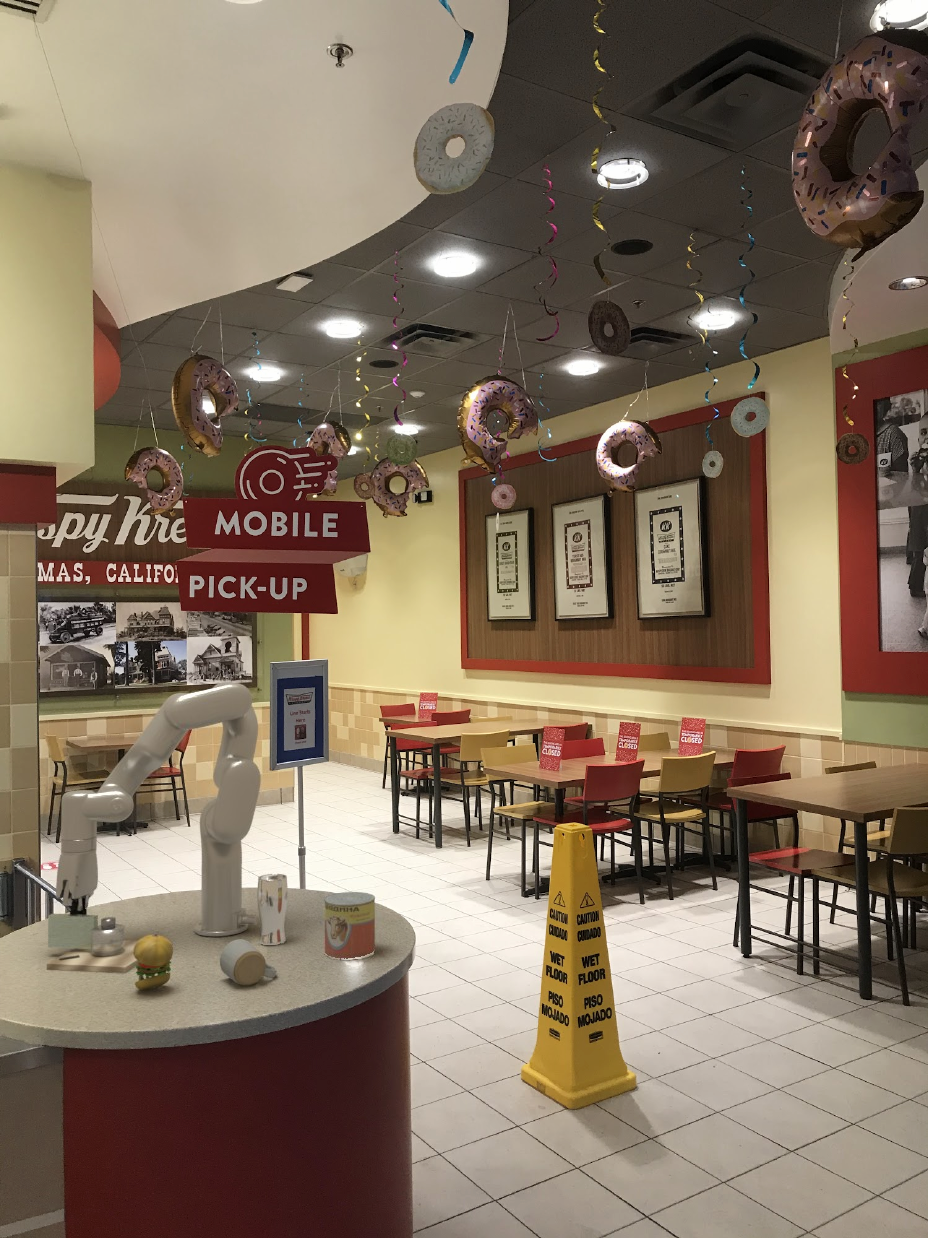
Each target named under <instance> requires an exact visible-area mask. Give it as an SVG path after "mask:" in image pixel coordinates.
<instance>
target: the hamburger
mask: <svg viewBox="0 0 928 1238" xmlns="http://www.w3.org/2000/svg"><path fill="white" fill-rule="evenodd" d="M137 941H138V942H137V943H136V945H135V947H134V953H133V954H134V957H135V959H137V960H138V961H139V962H138V963H137V964H138V965H136V966H135V969H137V970H136V971H135V974H136V975H137V976H138V981H135V982H134V985H135V987H136V989H137V990H140V991H148V990H153V989H156V988H159V987H162V986H163V985H165V984H167V983H168V982H169V980H170V979H171V971H172V968H171V965H170V964H172V962H171V960H172V958H173V954H174V949H173V948H174V947H173V944H172V943H171V941H170V940H169V939H168V938H166V937H165V936H163V935H160V934H159V931H157V932H156V933H153V934H147V935H145V936H143V937H141V938H140V939H139V940H137ZM144 976H145V978H144Z"/></svg>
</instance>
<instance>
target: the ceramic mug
mask: <svg viewBox="0 0 928 1238" xmlns="http://www.w3.org/2000/svg"><path fill="white" fill-rule="evenodd" d="M219 966H220V970H221V972H222V973H223V974H225V975H226V976H227V977H229V979H231V980H232V981H233V982H234V983H236V984H237V985H239V986H240V985H241V986H245V987H246V986H247V987H248V986H252V985H255V984H257V983H258V982H260V980H261V979H262V978H263V977H265V978H269V979H274V978H276V974H277V971H278V970H277V969H276V968H275V967H274V966H272V965H270V964H269V963H266V959H265V957H264V954H263V953H262V952H261V951H260V950H259V949H257V947H256V946H255V945H253V944H252V943H251V942H250V941H248V940H247V939H241V938H239V939H235V940H232V941H230V942H228V944H226V945H225V946H224V948H223V949H222V951H221V952H220V956H219Z"/></svg>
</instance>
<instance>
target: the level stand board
mask: <svg viewBox="0 0 928 1238" xmlns="http://www.w3.org/2000/svg"><path fill="white" fill-rule="evenodd" d="M138 941H139V940H129V939H128V940H127V939H125V950H124V951H123V952H121V953H119V954H115V955H109V956H96V955H92V954H91V949H75V948H72V949H71V950H69V951H68V952H65V953H63V954H62V955H61V956H58V957H57V958H55V959H53V960H50V961H49V962H47V963H46V970H52V971H54V970H55V971H70V972H71V971H74V972H75V971H76V972H96V973H97V972H99V973H112V974H113V973H118V974H127V972H128V973H129V971H131V970H132V969H134V968H136V965H138V964H137V963H138V962H139V961H138V960H137V959H135V957H134V954H133V953H134V947H135V945H136V943H137V942H138Z"/></svg>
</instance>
